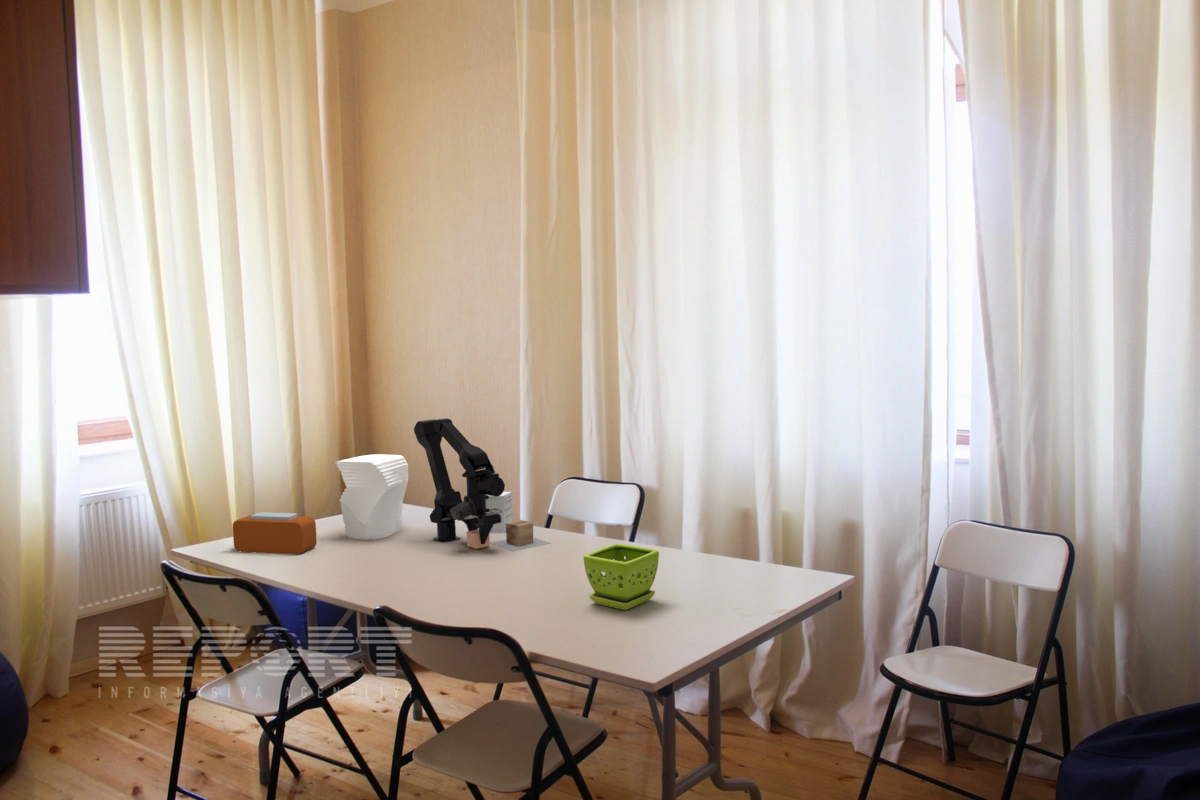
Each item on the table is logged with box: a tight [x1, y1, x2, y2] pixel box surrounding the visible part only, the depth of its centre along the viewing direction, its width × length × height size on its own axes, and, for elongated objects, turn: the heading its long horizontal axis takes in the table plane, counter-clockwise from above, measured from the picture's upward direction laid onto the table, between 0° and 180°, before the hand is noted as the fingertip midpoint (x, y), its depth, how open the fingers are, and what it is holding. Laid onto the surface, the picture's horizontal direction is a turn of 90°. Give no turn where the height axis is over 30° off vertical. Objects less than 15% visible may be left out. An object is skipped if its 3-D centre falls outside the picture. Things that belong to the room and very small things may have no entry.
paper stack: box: [334, 453, 410, 541], centre depth 306 cm, size 21×27×26 cm
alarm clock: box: [232, 511, 317, 555], centre depth 289 cm, size 24×8×11 cm, turn 76°
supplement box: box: [486, 491, 513, 534], centre depth 307 cm, size 7×7×13 cm
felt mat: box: [490, 537, 552, 552], centre depth 289 cm, size 14×14×1 cm
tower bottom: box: [505, 532, 534, 547], centre depth 289 cm, size 6×6×3 cm
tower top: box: [505, 519, 534, 536], centre depth 289 cm, size 6×6×3 cm
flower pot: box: [583, 543, 660, 611], centre depth 228 cm, size 14×14×13 cm
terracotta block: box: [466, 528, 491, 550], centre depth 285 cm, size 5×5×4 cm
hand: (478, 542), depth 285 cm, fingers closed on terracotta block, 5 cm apart
